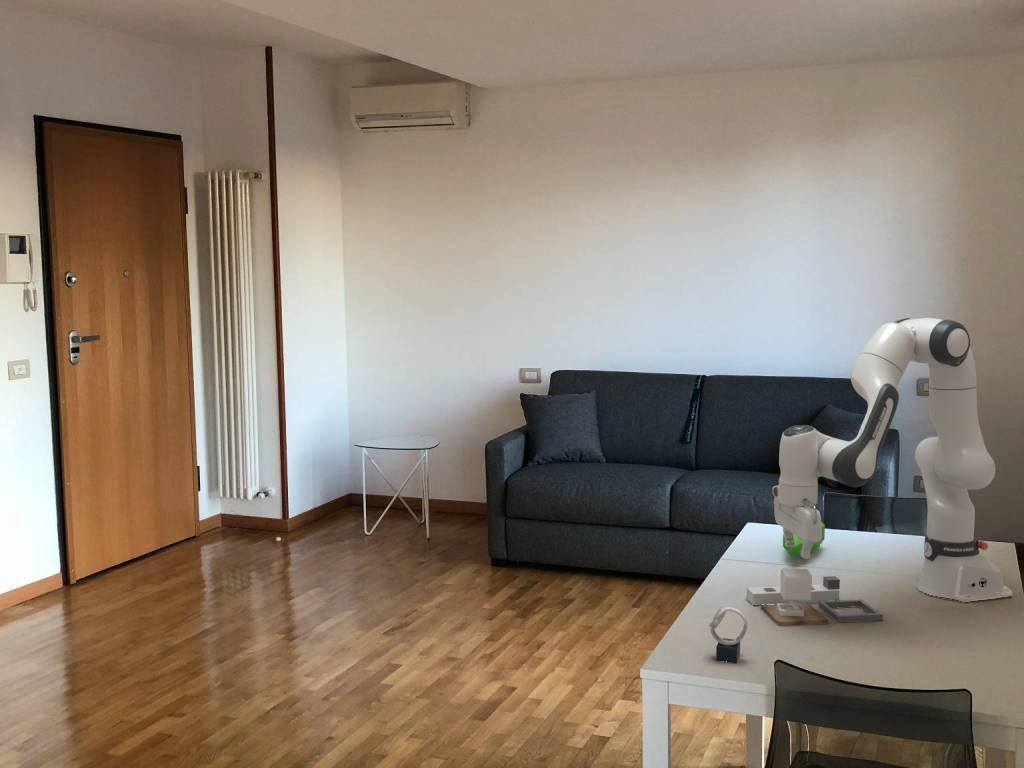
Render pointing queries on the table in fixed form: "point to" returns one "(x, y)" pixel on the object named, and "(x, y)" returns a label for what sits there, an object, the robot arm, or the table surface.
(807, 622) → the walnut pad
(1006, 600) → the table surface
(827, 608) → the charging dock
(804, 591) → the security camera
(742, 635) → the watch
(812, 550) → the green faceted elongated piece
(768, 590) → the power strip
